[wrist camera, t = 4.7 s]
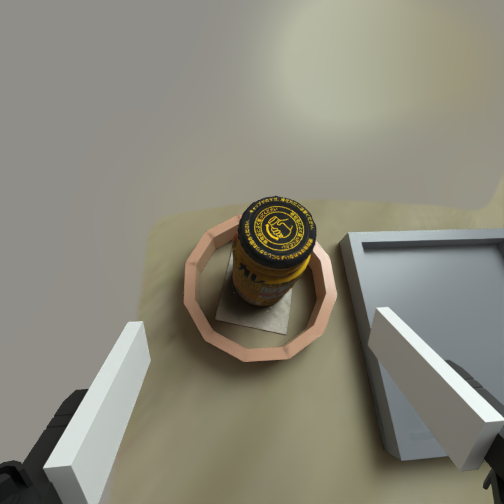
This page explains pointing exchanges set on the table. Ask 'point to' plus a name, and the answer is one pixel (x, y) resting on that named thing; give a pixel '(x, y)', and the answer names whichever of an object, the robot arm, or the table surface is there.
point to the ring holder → (191, 300)
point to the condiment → (266, 263)
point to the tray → (429, 314)
